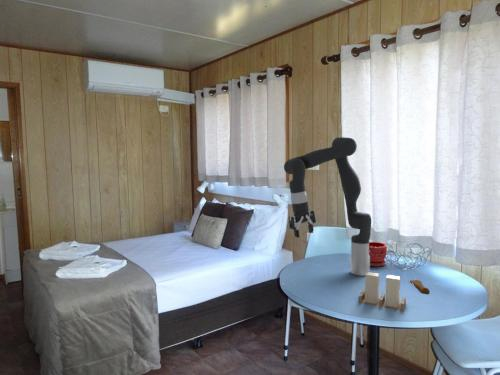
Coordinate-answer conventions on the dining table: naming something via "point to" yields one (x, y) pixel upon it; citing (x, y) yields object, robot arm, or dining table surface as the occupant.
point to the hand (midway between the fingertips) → (304, 235)
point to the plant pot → (377, 253)
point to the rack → (382, 302)
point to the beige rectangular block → (372, 288)
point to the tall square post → (392, 291)
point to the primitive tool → (420, 286)
